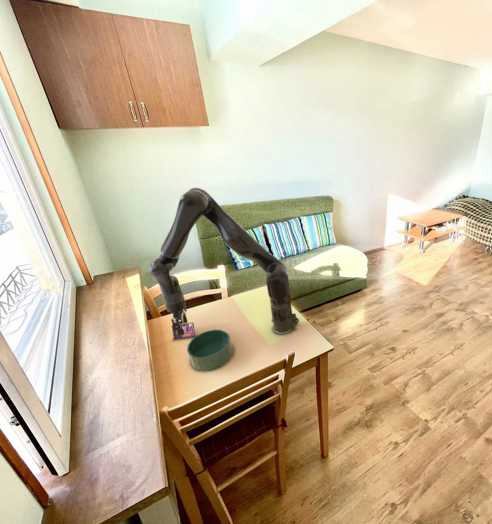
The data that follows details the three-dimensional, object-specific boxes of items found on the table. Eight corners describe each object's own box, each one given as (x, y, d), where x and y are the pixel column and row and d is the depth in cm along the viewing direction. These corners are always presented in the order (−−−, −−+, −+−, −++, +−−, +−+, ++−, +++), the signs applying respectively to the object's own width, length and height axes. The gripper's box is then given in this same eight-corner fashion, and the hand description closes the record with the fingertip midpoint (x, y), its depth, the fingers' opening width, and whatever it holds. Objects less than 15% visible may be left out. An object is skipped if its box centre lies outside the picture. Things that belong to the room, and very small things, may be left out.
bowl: (233, 338, 126) (230, 326, 123) (232, 365, 112) (228, 352, 109) (194, 346, 122) (190, 333, 119) (188, 374, 108) (183, 362, 105)
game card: (171, 326, 124) (192, 323, 125) (175, 322, 129) (195, 319, 131) (173, 340, 125) (194, 337, 126) (177, 335, 130) (197, 332, 132)
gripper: (180, 307, 114) (189, 337, 122) (186, 289, 126) (194, 317, 134) (160, 310, 112) (171, 340, 120) (168, 291, 124) (177, 320, 132)
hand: (183, 328), depth 127 cm, fingers open, 8 cm apart
